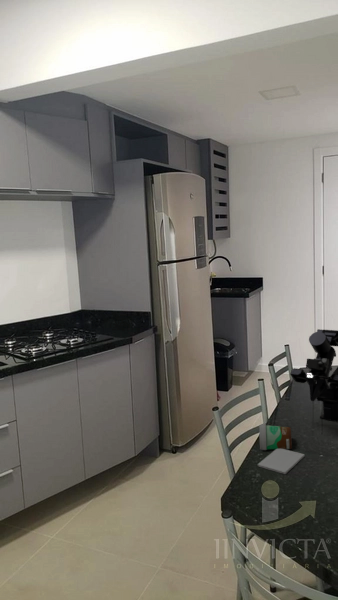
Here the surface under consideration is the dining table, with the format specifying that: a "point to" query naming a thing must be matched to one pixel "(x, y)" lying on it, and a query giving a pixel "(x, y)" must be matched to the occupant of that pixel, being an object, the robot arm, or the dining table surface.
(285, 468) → the grey mat
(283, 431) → the food container
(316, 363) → the robot arm
